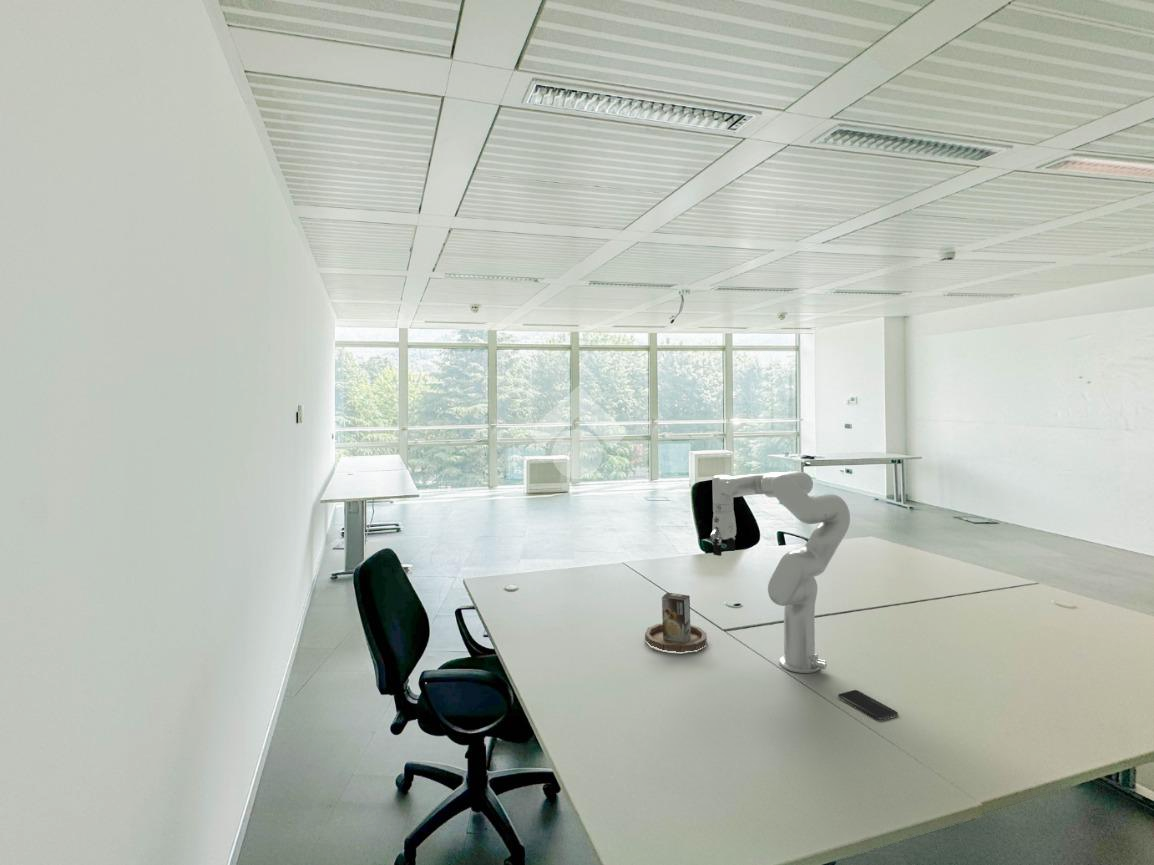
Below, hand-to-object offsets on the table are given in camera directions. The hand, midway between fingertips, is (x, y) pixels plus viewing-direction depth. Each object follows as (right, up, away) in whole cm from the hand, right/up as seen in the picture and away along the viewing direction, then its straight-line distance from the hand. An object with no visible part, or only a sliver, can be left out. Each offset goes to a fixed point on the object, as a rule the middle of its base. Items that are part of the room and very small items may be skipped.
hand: (724, 552), depth 222 cm
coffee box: (-19, -32, -4) cm, 37 cm away
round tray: (-19, -32, -4) cm, 38 cm away
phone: (+28, -34, -53) cm, 69 cm away
